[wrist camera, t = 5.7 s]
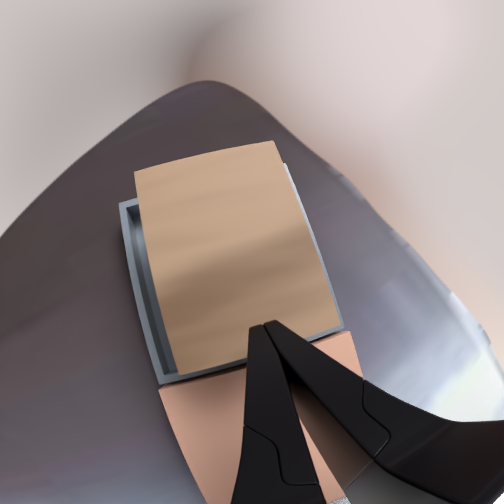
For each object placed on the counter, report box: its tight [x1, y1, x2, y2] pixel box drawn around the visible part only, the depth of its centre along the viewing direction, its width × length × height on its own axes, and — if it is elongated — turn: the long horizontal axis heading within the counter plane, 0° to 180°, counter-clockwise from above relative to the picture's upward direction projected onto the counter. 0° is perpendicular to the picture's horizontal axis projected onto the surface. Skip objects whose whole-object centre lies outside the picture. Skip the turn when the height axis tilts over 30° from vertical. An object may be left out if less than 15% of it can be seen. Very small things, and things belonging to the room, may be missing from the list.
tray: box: [119, 163, 345, 385], centre depth 16 cm, size 10×10×2 cm
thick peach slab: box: [158, 331, 363, 504], centre depth 13 cm, size 10×10×2 cm
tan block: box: [134, 141, 341, 375], centre depth 13 cm, size 6×6×8 cm
